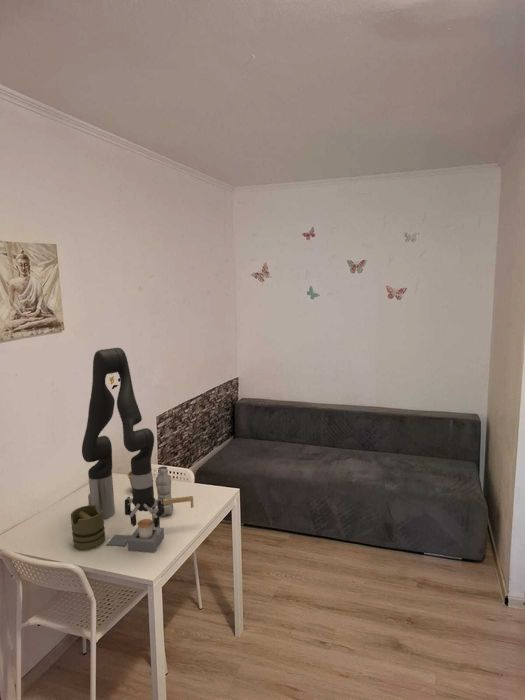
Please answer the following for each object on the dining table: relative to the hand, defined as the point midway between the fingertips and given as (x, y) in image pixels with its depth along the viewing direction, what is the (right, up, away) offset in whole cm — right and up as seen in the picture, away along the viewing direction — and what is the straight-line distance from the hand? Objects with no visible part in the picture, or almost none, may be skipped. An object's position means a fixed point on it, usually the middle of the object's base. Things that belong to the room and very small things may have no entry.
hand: (145, 525), depth 177 cm
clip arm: (+8, +3, +10) cm, 13 cm away
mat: (-11, -7, +4) cm, 13 cm away
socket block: (0, -7, +4) cm, 8 cm away
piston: (-22, -8, +4) cm, 24 cm away
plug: (0, -7, +1) cm, 7 cm away
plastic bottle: (+3, -4, +24) cm, 24 cm away
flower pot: (-14, -1, +47) cm, 49 cm away
